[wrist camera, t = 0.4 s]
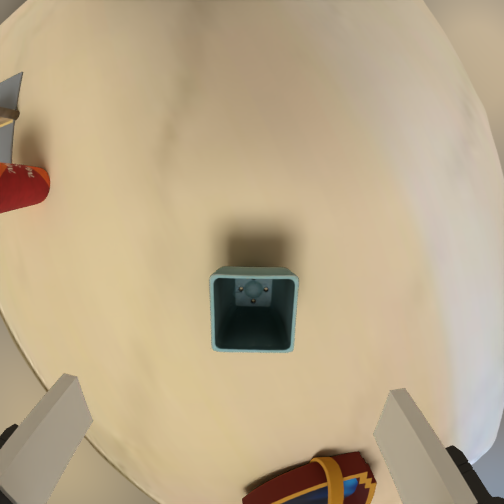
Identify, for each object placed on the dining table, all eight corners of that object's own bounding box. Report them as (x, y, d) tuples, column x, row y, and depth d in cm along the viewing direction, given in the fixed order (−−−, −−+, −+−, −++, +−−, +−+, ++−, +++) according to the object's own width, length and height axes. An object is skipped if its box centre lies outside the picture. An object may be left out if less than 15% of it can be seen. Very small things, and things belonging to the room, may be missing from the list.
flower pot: (218, 254, 37) (208, 274, 28) (288, 255, 37) (299, 275, 28) (219, 317, 39) (211, 352, 30) (285, 318, 39) (293, 353, 30)
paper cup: (54, 156, 34) (-12, 151, 20) (56, 207, 35) (-10, 218, 22) (21, 166, 34) (-41, 166, 20) (23, 213, 35) (-39, 225, 22)
